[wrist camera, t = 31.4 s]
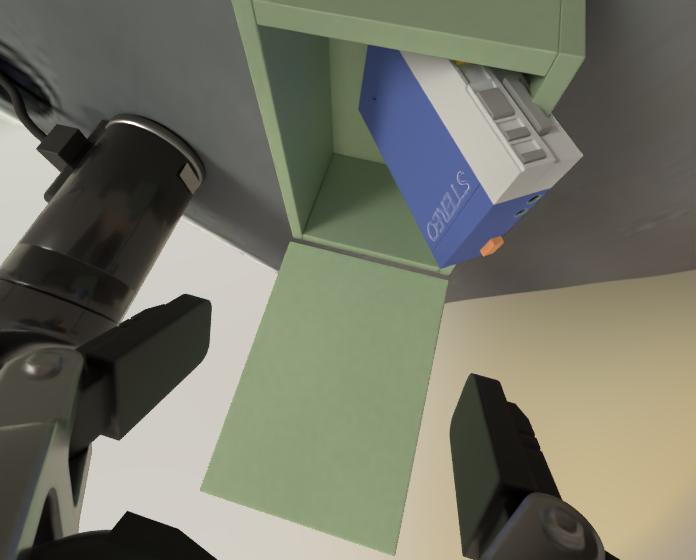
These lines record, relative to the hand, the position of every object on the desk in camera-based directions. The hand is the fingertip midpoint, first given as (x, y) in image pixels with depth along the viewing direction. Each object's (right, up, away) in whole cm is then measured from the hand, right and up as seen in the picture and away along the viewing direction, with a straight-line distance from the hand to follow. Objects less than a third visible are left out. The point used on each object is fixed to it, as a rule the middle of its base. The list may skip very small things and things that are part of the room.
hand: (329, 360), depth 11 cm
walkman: (+3, +15, +8) cm, 18 cm away
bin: (+4, +15, +11) cm, 19 cm away
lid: (0, -4, +12) cm, 12 cm away
